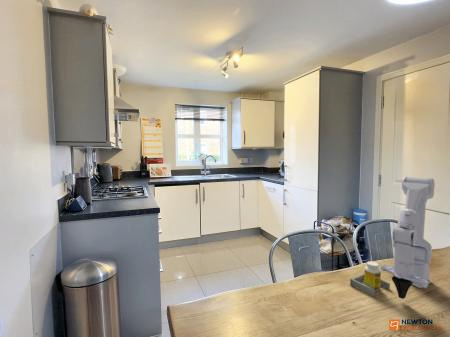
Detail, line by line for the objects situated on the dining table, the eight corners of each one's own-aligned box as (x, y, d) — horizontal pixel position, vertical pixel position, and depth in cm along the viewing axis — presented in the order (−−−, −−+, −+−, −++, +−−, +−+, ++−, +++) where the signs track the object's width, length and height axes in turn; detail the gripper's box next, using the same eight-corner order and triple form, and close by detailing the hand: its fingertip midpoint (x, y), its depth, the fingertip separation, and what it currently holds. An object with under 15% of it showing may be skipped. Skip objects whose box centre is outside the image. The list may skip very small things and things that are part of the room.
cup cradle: (365, 278, 108) (366, 272, 108) (389, 289, 99) (390, 283, 99) (350, 284, 103) (350, 278, 102) (374, 296, 94) (374, 290, 94)
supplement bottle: (376, 293, 96) (376, 268, 95) (361, 287, 101) (362, 262, 100) (382, 289, 99) (383, 264, 99) (368, 283, 104) (368, 259, 103)
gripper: (376, 255, 94) (375, 290, 95) (421, 272, 81) (419, 311, 82) (387, 252, 97) (385, 285, 98) (431, 267, 85) (430, 305, 85)
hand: (402, 297), depth 90 cm, fingers closed
